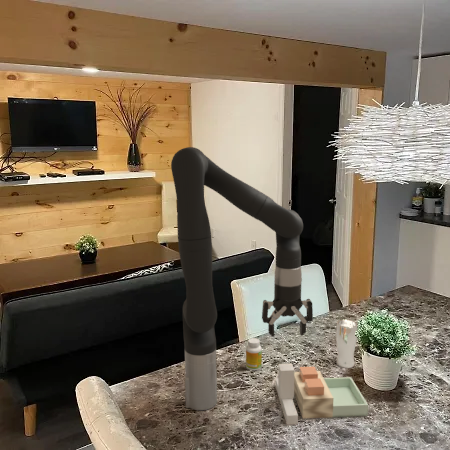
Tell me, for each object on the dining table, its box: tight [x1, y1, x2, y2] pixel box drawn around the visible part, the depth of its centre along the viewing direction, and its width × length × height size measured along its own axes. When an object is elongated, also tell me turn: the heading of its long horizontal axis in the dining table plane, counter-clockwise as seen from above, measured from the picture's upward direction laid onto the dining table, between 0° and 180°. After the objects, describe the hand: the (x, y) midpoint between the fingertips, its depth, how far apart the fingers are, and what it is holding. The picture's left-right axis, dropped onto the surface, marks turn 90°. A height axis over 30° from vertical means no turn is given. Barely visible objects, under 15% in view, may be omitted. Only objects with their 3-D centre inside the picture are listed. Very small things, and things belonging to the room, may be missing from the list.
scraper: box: [274, 363, 299, 426], centre depth 134 cm, size 4×20×12 cm, turn 3°
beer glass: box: [335, 319, 358, 369], centre depth 157 cm, size 7×7×15 cm
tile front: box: [305, 379, 324, 395], centre depth 131 cm, size 4×4×2 cm
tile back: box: [299, 366, 318, 382], centre depth 137 cm, size 4×4×2 cm
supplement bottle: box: [245, 337, 263, 371], centre depth 156 cm, size 5×5×10 cm
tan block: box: [294, 370, 334, 420], centre depth 135 cm, size 8×15×6 cm, turn 3°
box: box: [323, 376, 369, 418], centre depth 136 cm, size 10×15×4 cm, turn 3°
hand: (286, 335), depth 131 cm, fingers open, 8 cm apart
